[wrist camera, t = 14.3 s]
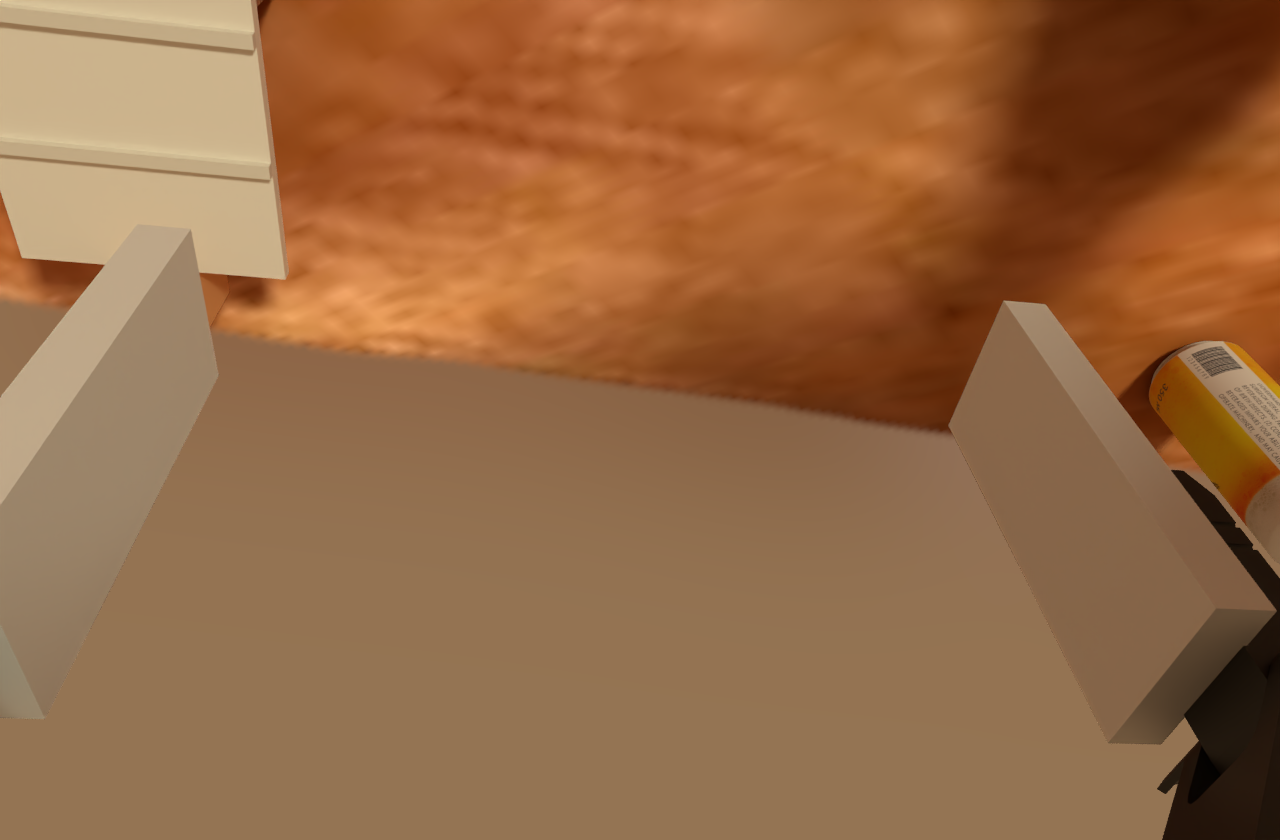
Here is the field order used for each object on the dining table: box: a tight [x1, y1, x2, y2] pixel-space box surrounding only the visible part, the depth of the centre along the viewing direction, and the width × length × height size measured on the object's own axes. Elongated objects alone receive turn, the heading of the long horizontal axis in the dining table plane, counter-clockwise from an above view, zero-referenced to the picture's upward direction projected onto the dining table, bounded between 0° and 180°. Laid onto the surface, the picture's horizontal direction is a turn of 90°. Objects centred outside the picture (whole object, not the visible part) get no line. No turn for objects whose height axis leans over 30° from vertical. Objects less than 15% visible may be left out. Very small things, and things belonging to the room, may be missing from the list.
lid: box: [0, 0, 289, 327], centre depth 39 cm, size 20×12×8 cm, turn 172°
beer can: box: [1149, 341, 1280, 564], centre depth 53 cm, size 6×6×15 cm
